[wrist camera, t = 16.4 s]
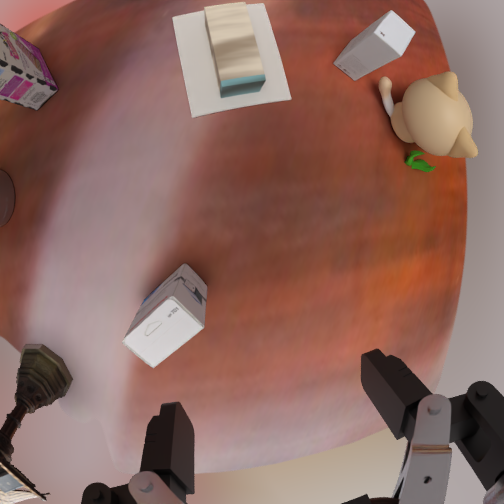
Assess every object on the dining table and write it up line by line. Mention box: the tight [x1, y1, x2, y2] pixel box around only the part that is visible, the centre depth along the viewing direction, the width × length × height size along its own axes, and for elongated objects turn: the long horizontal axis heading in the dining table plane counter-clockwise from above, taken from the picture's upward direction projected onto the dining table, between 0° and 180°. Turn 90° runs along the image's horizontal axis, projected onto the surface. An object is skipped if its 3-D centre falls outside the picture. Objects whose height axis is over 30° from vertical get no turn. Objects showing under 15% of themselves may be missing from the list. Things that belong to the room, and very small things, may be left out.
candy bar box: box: [0, 24, 58, 110], centre depth 19 cm, size 11×5×16 cm, turn 32°
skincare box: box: [333, 10, 415, 81], centre depth 27 cm, size 6×4×12 cm
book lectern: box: [0, 344, 73, 504], centre depth 23 cm, size 17×13×35 cm
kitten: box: [379, 72, 478, 172], centre depth 29 cm, size 15×10×15 cm
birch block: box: [204, 2, 266, 98], centre depth 28 cm, size 5×5×12 cm
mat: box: [172, 3, 291, 118], centre depth 31 cm, size 16×13×1 cm
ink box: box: [122, 263, 207, 368], centre depth 33 cm, size 9×5×12 cm, turn 130°
